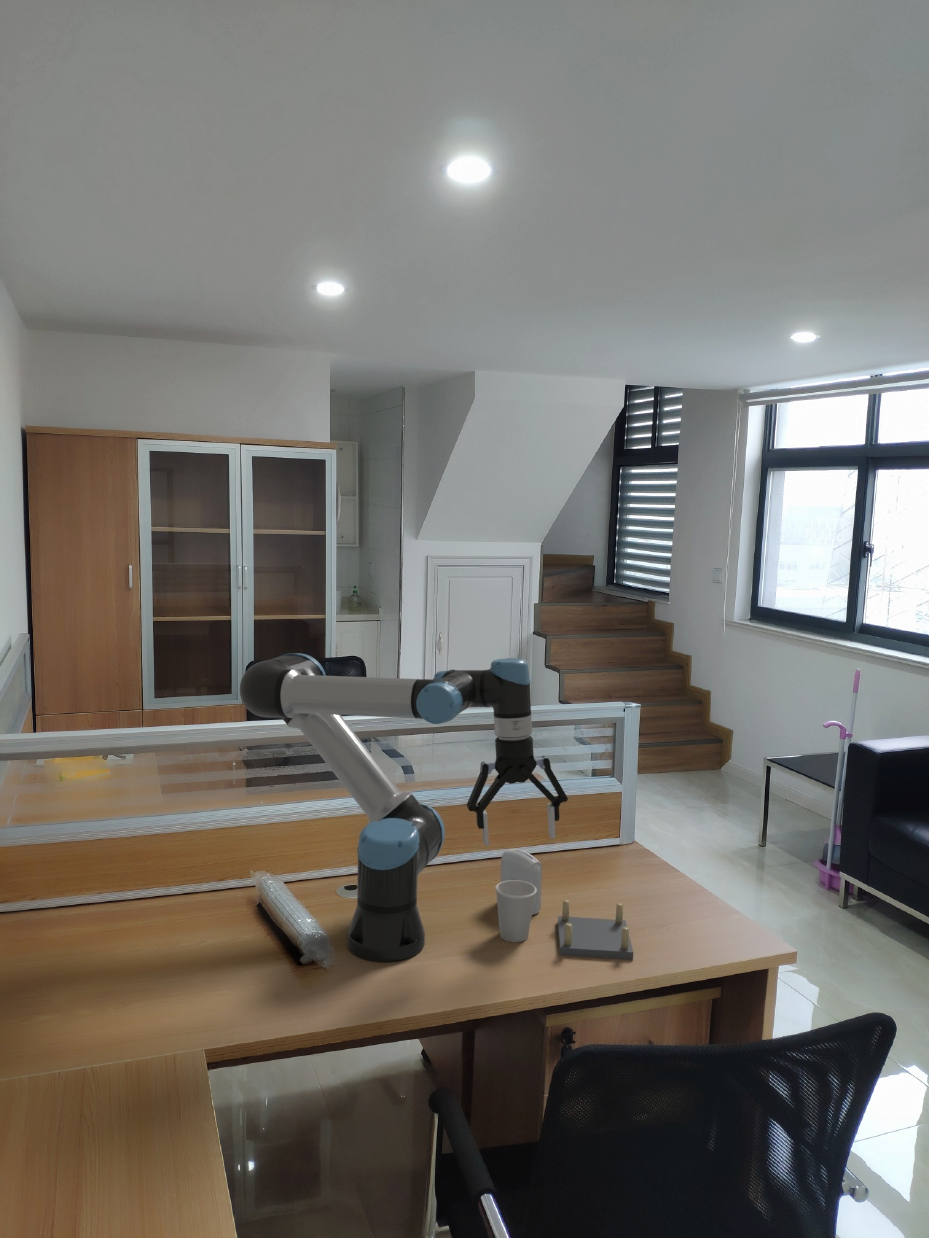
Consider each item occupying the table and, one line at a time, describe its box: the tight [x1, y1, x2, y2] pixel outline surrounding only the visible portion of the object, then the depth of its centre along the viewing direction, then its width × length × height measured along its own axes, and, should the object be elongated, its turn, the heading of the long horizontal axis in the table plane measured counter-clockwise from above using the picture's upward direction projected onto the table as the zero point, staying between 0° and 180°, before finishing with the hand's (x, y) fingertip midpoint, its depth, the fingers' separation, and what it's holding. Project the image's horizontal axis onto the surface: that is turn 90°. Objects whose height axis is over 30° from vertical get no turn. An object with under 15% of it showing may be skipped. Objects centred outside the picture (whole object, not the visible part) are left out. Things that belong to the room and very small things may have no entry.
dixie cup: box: [494, 880, 537, 943], centre depth 177 cm, size 8×8×10 cm
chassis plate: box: [557, 899, 634, 961], centre depth 177 cm, size 14×14×6 cm
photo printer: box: [500, 848, 543, 916], centre depth 191 cm, size 10×4×12 cm, turn 39°
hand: (519, 840), depth 177 cm, fingers open, 13 cm apart
